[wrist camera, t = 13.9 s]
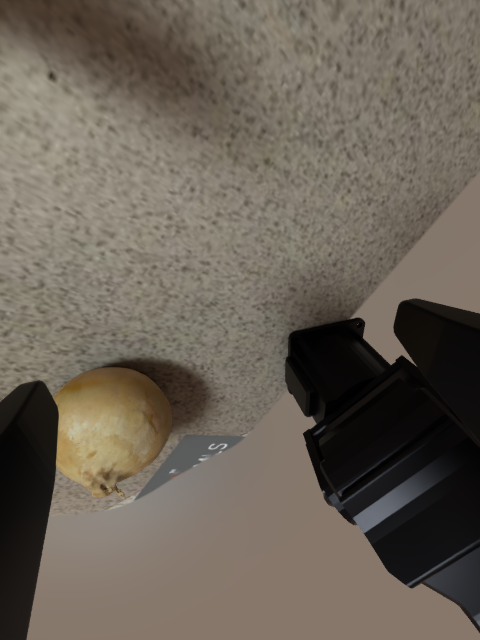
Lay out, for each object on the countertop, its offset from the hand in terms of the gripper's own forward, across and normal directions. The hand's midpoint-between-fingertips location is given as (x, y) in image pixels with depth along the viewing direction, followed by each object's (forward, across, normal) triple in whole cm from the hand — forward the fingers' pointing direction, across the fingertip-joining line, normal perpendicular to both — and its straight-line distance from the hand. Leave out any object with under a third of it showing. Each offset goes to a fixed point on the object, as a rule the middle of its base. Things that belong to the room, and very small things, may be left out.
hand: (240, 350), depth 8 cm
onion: (+13, +7, +12) cm, 19 cm away
